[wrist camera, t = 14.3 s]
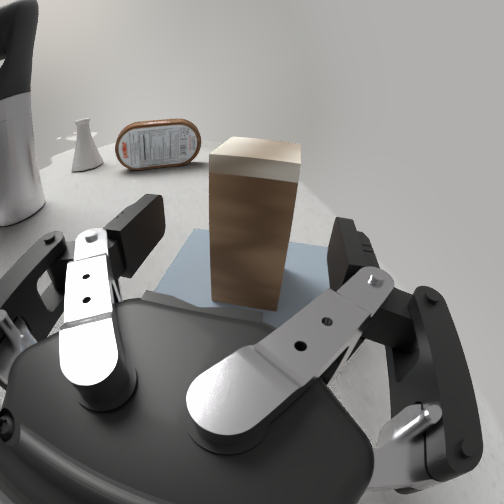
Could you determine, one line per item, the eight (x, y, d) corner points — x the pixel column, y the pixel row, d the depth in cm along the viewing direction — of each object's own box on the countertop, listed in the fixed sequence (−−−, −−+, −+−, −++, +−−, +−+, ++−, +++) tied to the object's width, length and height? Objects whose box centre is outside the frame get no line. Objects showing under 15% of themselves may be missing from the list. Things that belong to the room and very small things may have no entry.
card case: (211, 300, 19) (209, 154, 13) (228, 258, 23) (232, 136, 17) (276, 311, 18) (300, 163, 12) (282, 267, 22) (300, 144, 16)
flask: (107, 159, 49) (103, 114, 43) (98, 169, 43) (93, 118, 38) (78, 164, 47) (73, 120, 42) (66, 175, 42) (59, 126, 36)
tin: (199, 161, 47) (200, 116, 42) (202, 165, 45) (202, 118, 40) (118, 169, 43) (115, 124, 38) (116, 175, 40) (111, 127, 36)
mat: (133, 332, 16) (131, 329, 16) (194, 231, 27) (194, 228, 26) (337, 370, 15) (339, 367, 14) (327, 251, 25) (328, 247, 25)
